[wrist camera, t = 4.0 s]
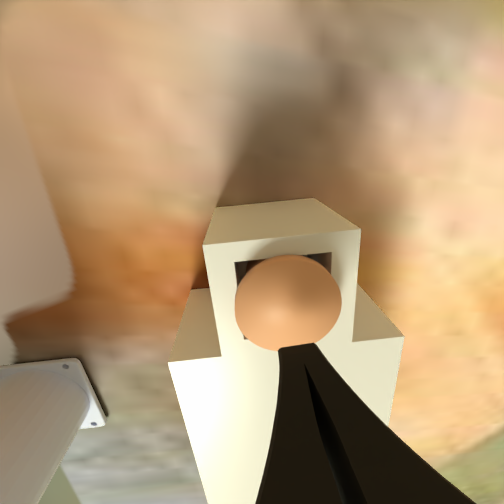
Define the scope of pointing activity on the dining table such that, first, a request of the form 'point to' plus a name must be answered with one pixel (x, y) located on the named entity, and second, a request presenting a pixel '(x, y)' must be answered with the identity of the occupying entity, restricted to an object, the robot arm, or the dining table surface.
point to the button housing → (263, 360)
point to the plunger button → (286, 302)
